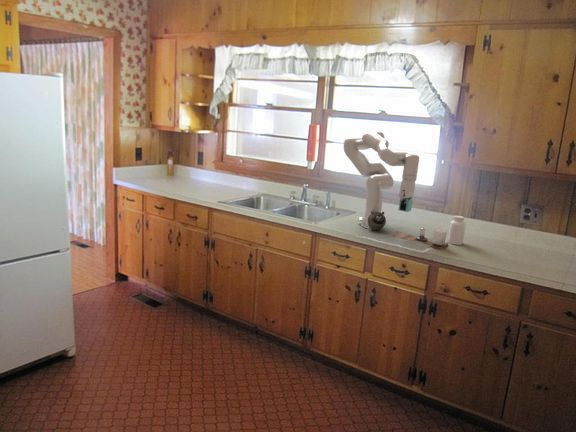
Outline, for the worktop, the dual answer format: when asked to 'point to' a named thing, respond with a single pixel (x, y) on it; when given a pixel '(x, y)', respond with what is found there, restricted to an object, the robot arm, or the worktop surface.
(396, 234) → the board
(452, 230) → the pill bottle
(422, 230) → the dark grey knobbed dome
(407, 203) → the matte teal square block
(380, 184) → the robot arm
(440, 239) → the pale wooden cube
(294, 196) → the worktop surface
